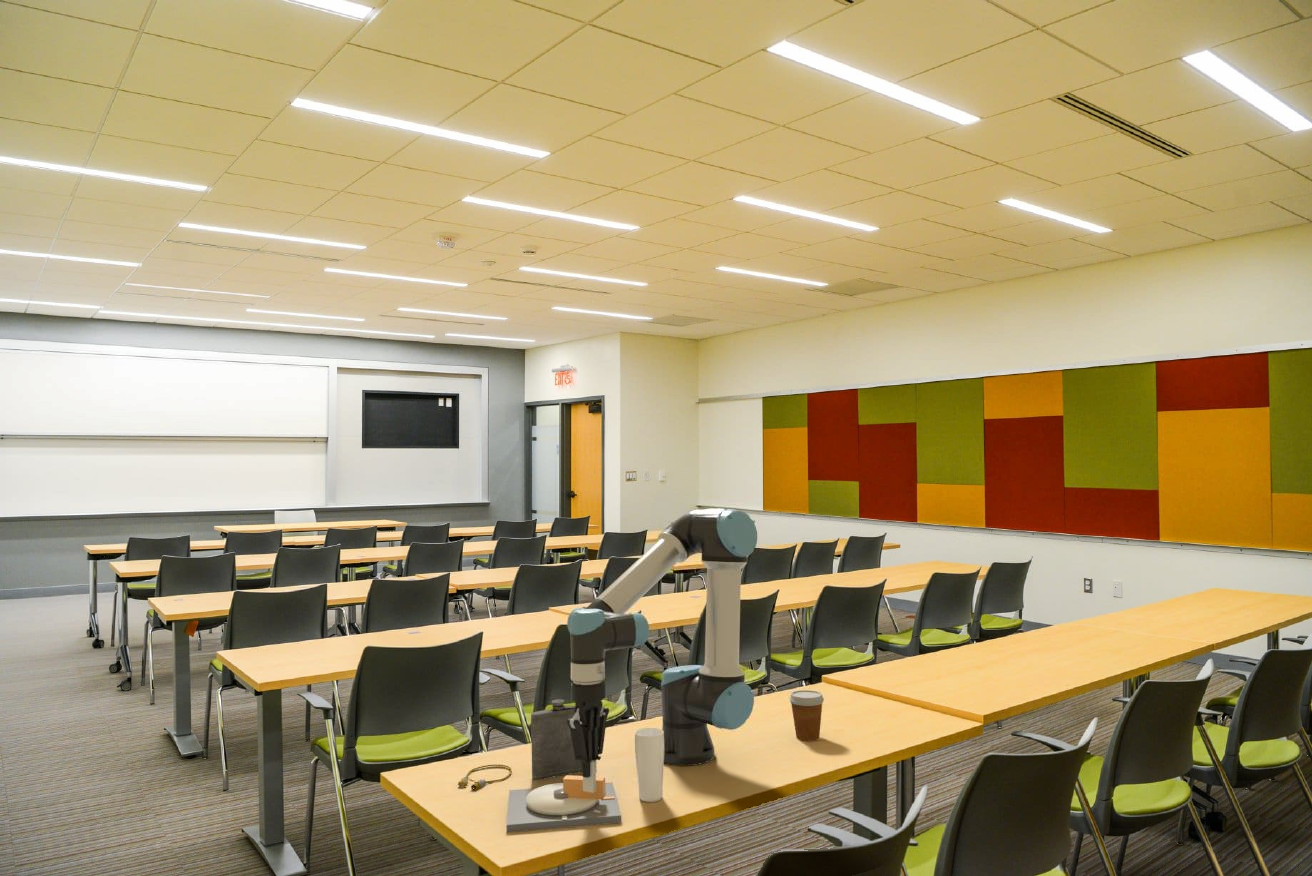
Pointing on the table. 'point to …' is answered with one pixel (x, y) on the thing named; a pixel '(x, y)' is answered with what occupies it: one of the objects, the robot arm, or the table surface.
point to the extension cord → (482, 782)
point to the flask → (553, 742)
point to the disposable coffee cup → (807, 713)
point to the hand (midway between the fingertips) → (589, 791)
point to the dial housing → (530, 820)
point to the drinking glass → (650, 763)
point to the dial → (565, 796)
